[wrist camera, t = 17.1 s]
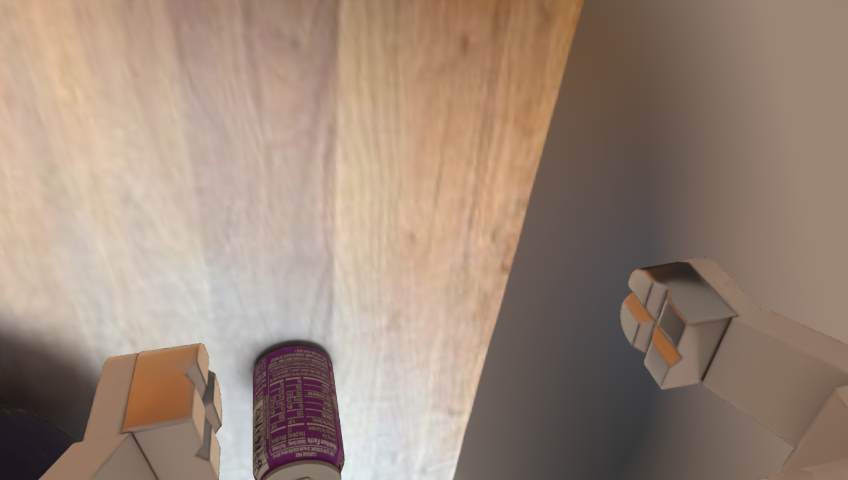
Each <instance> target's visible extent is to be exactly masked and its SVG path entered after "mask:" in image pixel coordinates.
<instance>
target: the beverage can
mask: <svg viewBox="0 0 848 480" xmlns="http://www.w3.org/2000/svg"><path fill="white" fill-rule="evenodd" d="M343 465H344V449H343V441H342V434H341V426H340V419H339V411H338V403H337V396H336V388H335V381H334V373H333V366H332V363H331V361H330V359H329V358H328V357H327V356H326V355H325V354H324V353H323V352H321V351H319V350H317V349H314V348H310V347H304V346H292V347H286V348H281V349H278V350H276V351H273V352H271V353H269V354H268V355H266V356H265V357H263V358H262V359H261V360H260V361H259V362H258V363H257V365H256V367H255V369H254V371H253V475H254V478H255V480H341V471H342V468H343Z"/></svg>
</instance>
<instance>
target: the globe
mask: <svg viewBox="0 0 848 480" xmlns="http://www.w3.org/2000/svg"><path fill="white" fill-rule="evenodd" d="M73 443H76V442H75V441H74V440H73V439H72V438H70V437H69V436H68V435H66V434H65V433H64V432H62V431H61V430H59V429H58V428H56V427H55V426H53V425H52V424H50V423H49V422H47V421H45V420H43V419H41V418H39V417H37V416H35V415H33V414H31V413H29V412H27V411H24V410H22V409H19V408H17V407H14V406H11V405H8V404H4V403H1V402H0V480H39V479H40V478H41V477H42V476H43V475H44V474H45V472H46V471H47V470H48V469H49V468H50V467H51V466H52V465H53V464H54V463H55V462H56V461H57V460H58V459H59V458H60V457H61V456H62V455H63V454H64V453H65V451H66V450H67V449H68V448H69V447H70V446H71V445H72V444H73Z"/></svg>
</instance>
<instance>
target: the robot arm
mask: <svg viewBox="0 0 848 480" xmlns="http://www.w3.org/2000/svg"><path fill="white" fill-rule="evenodd" d="M628 285H629V286H630V288H631V290H632V292H631V294H630V295H628V297H627V298H626V299H625V300H624V301H623V304H622V308H621V312H620V315H621V322H622V327H623V330H624V332H625V335H626V337H627V339H628V340H629V342H630V343H631V344H632V346H633V347H635V348H637V349H639V350H640V351H642V352H644V353H645V359H644V364H645V366H646V367H647V368H648V370H649V371H650V373H651V374H652V376H653V377H654V379H655V380H656V381H657V383H658V384H659V386H660V387H661V389H662V390H664V389H669V388H674V387H680V386H685V385H691V384H697V383H702V382H703V383H702V385H703V386H704V387H706V388H707V389H709V390H710V391H712V392H713V393H715V394H716V395H718V396H719V397H720V398H722V399H723V400H725V401H726V402H728V403H729V404H731V405H732V406H734V407H735V408H737V409H738V410H739V411H741V412H742V413H744V414H746V415H747V416H748V417H750V418H751V419H753V420H754V421H756V422H757V423H759V424H760V425H762V426H763V427H765V428H766V429H768V430H769V431H770V432H772V433H773V434H775V435H776V436H778V437H779V438H781V439H782V440H784V441H785V442H787V443H788V444H790V445H791V446H793V447H794V449H793V451H792V452H791V453H790V455H789V456H788V458H787V459H786V461H785V462H784V464H783V468H782V472H783V474H779V475H775V476H771V477H767V478H763V479H759V480H848V344H845V343H843V342H841V341H839V340H836V339H834V338H832V337H830V336H827V335H825V334H823V333H821V332H818V331H816V330H814V329H812V328H809V327H807V326H805V325H803V324H800V323H798V322H796V321H793V320H791V319H789V318H787V317H784V316H782V315H780V314H778V313H775V312H773V311H763V310H762V309H761V308H760V307H759V306H758V305H757V304H756V303H755V302H754V301H753V300H752V299H751V298H750V297H749V296H748V295H747V294H746V293H745V292H744V291H743V290H742V289H741V288H740V287H739V286H738V285H737V284H736V283H735V282H734V281H733V280H732V279H731V277H729V275H727V273H725V271H724V270H722V268H721V267H720V266H719V265H718V264H717V263H716V262H715V261H714V260H712V259H710V258H708V257H702V258H696V259H691V260H686V261H682V262H673V263H668V264H662V265H657V266H651V267H646V268H640V269H636V270H635V271H634V272H633V273H632V274H631V276H630V280H629V283H628ZM208 365H209V356H208V353H207V351H206V348H205V346H204V344H201V343H199V344H192V345H185V346H178V347H171V348H164V349H158V350H151V351H144V352H140V353H134V354H127V355H120V356H113V357H109V358H108V359H107V361H106V362H105V363H104V365H103V367H102V371H101V375H100V379H99V382H98V386H97V390H96V394H95V398H94V401H93V405H92V409H91V413H90V417H89V420H88V424H87V428H86V432H85V436H84V439H83V442H78V443H73V444H72V445H71V446H70V447H69V448H68V449H67V450H66V451H65V453H64V454H63V455H62V456H61V457H60V458H59V459H58V460H57V461H56V462H55V463H54V464H53V465H52V466H51V467H50V468H49V469H48V470H47V471H46V472H45V474H44V475H43V476H42V477H41V478H40V479H39V480H219V465H220V446H219V443H218V440H217V438H216V435H215V434H216V432H217V431H218V430H219V428H220V427H221V426H222V404H221V394H220V389H219V384H218V381H217V378H216V375H215V373H213V372H211V371H209V370H208Z"/></svg>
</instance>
